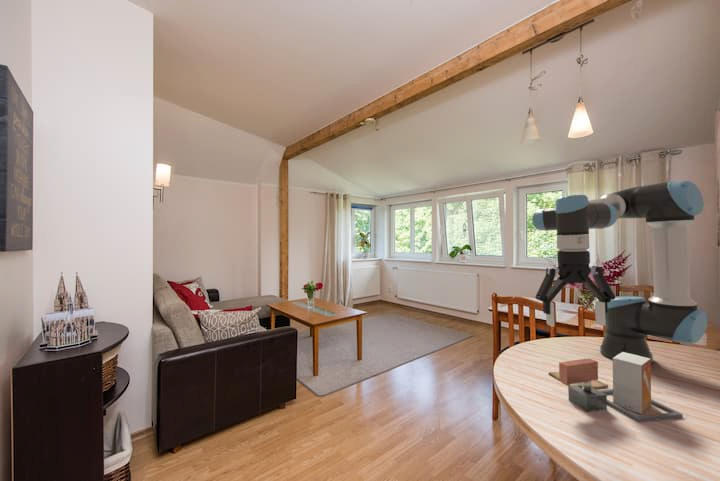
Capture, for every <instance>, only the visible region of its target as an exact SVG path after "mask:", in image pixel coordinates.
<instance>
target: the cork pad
mask: <svg viewBox="0 0 720 481" xmlns="http://www.w3.org/2000/svg"><path fill="white" fill-rule="evenodd" d="M548 375H549V376H551V377H553V378H554V379H556V380H557V381H559V371H552V372H551V371H550V372H548ZM564 384H565V383H563V385H564ZM565 385H567V384H565ZM574 385H582V382H581V383H574V384H568V385H567V386H574ZM591 387H593V388H595V389H604V388H608V387H609V385H608V384H606V383H604V382H602V381H600V380H599V379H598V380H593V381H591Z"/></svg>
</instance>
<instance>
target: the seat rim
mask: <svg viewBox="0 0 720 481" xmlns="http://www.w3.org/2000/svg"><path fill="white" fill-rule="evenodd" d="M597 390H598V391H600V392H602V393H604V394H606V395H613V388H610V389H597ZM651 405H652V406H655V407H657V408H659V409H661V410H663V411H665V412H666V413H657V414H656V413H655V414H646V415H636V414H634V413H633V412H632V411H631V412H630V410H628V409H626V408H623V407H620V406H618V405H616V404H615V403H613V401H611V400H609V399H607V406H609V407H611V408H613V409H615V410H616V411H618V412H619V413H622V414H623V415H625V416H627V417H629V419H632V420H634V421H636V422H637V423H642V422H643V423H644V422H653V421H660V420H661V421H662V420H670V419H680V418H683V417H684V416H683V413H681V412H679V411H677V410H675V409H673V408H671V407H669V406H666V405H665V404H662V403H660V402H658V401H656V400H654V399H652V398H651Z"/></svg>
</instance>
